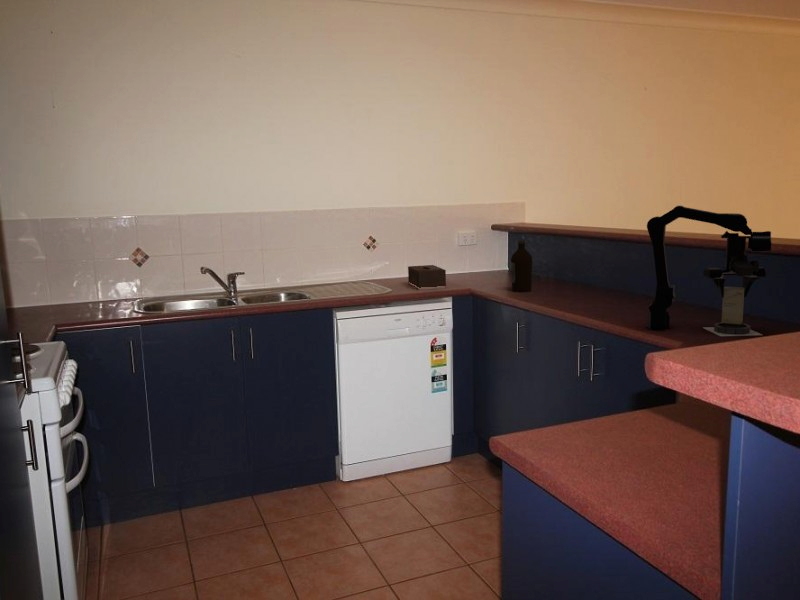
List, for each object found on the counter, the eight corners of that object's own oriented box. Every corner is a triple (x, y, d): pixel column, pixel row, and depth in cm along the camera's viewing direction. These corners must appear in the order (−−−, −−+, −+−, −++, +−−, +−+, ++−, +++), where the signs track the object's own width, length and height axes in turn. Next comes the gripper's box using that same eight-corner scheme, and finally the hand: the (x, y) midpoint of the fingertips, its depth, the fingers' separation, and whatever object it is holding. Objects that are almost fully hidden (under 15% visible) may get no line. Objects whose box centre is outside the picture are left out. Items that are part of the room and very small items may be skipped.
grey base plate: (720, 337, 220) (720, 336, 220) (702, 328, 234) (702, 327, 234) (763, 336, 219) (763, 334, 219) (742, 327, 233) (742, 326, 233)
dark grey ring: (723, 335, 221) (723, 329, 221) (708, 328, 232) (709, 322, 232) (755, 334, 221) (756, 328, 221) (740, 327, 232) (740, 321, 231)
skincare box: (721, 323, 226) (722, 288, 224) (723, 320, 230) (724, 286, 228) (741, 324, 222) (742, 288, 220) (743, 322, 226) (744, 286, 224)
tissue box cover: (446, 288, 349) (445, 270, 348) (419, 290, 346) (418, 271, 345) (433, 282, 374) (433, 264, 372) (408, 284, 371) (408, 266, 370)
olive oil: (531, 288, 337) (530, 239, 333) (533, 292, 327) (533, 241, 323) (510, 289, 338) (509, 240, 334) (512, 292, 327) (511, 242, 323)
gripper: (718, 254, 214) (716, 302, 217) (777, 253, 214) (773, 300, 216) (703, 251, 225) (701, 296, 228) (759, 250, 225) (756, 295, 227)
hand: (733, 297), depth 225 cm, fingers closed on skincare box, 7 cm apart
